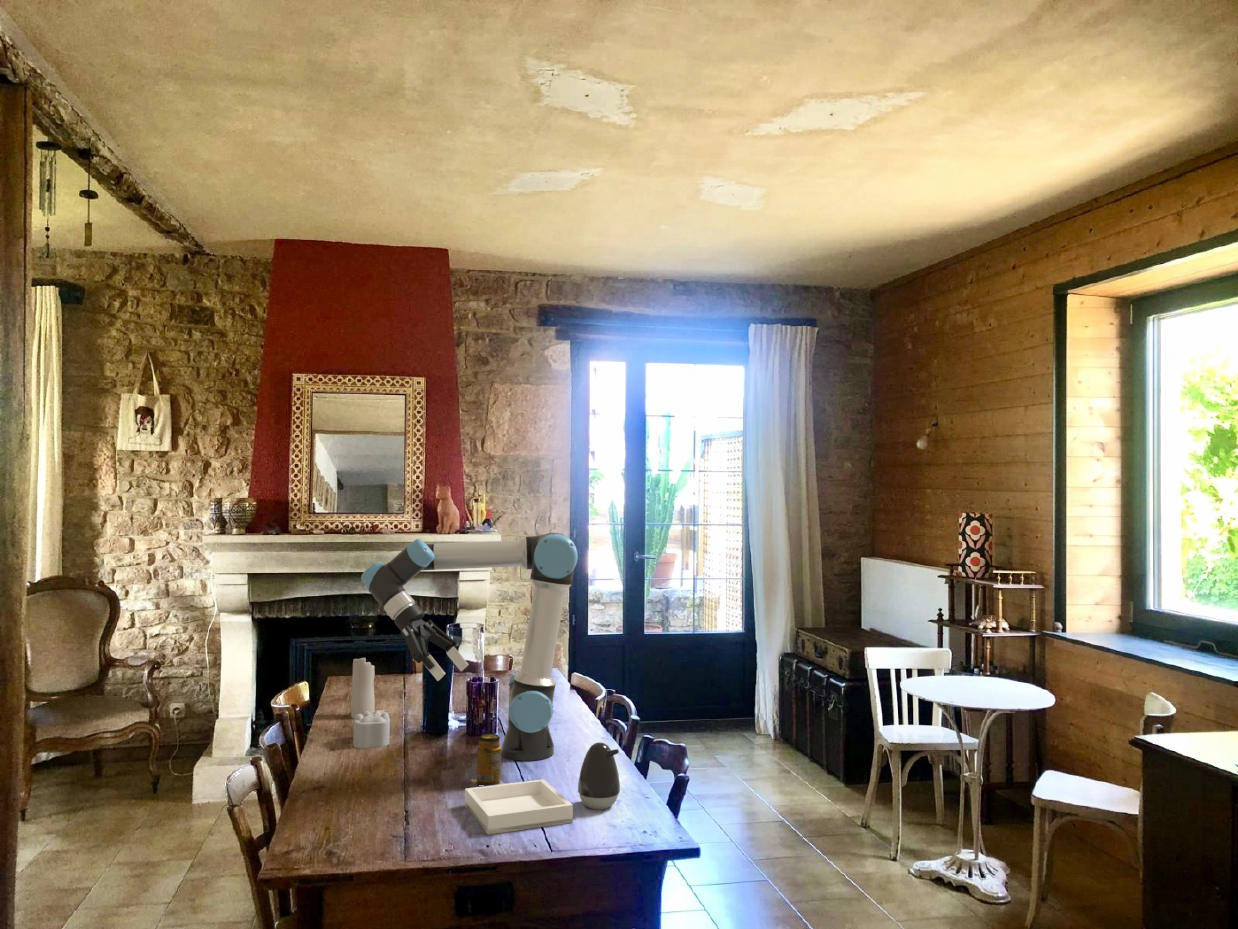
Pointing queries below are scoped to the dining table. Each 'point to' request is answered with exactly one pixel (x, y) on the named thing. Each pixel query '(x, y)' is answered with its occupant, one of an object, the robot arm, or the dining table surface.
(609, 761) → the pump dispenser
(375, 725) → the lumpy-topped squat cylinder
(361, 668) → the candle
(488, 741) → the condiment
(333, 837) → the dining table surface
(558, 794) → the tray
